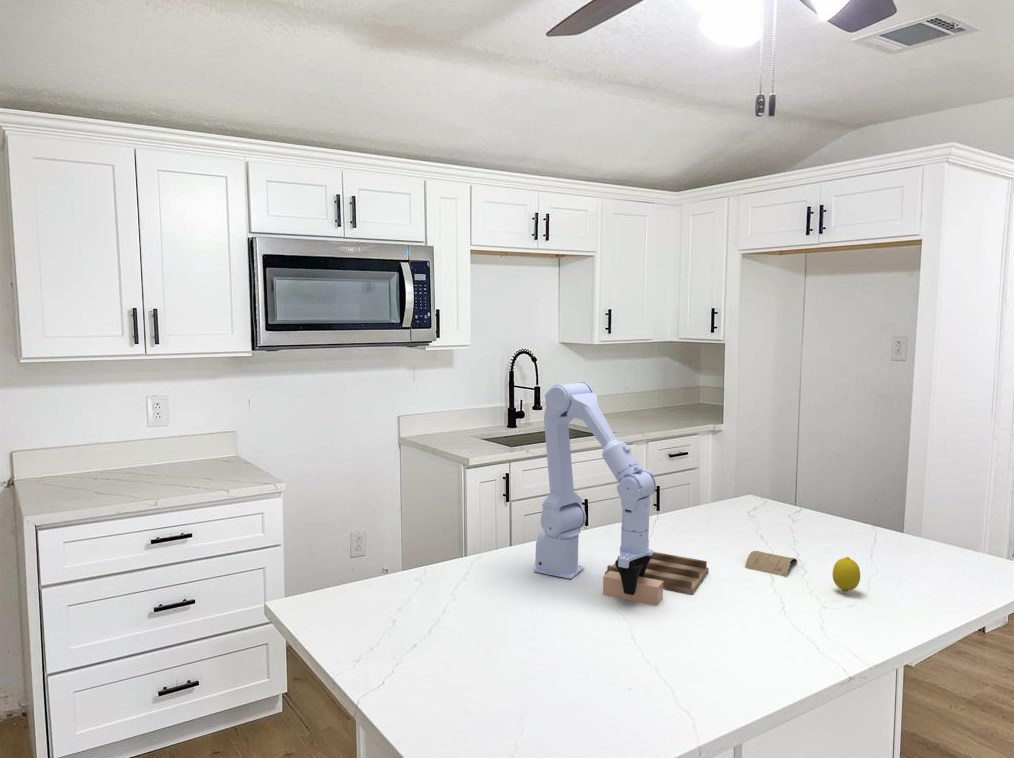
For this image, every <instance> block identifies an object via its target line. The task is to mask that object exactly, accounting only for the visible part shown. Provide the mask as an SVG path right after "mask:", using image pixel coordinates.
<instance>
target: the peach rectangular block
mask: <svg viewBox="0 0 1014 758" xmlns="http://www.w3.org/2000/svg"><path fill="white" fill-rule="evenodd" d="M602 578H603V579H602V595H605V596H609V597H613V598H619V599H623V600H626V601H627V600H629V601H633V602H638V603H643V604H646V605H652V606H657V607H658V605H660V604H661V602H662V601H663V600H664V589H663V582H664V581H660V580H655V579H650V578H645V577H640V576H638V580H637V586H636V591H635V594H634V595H629V594H625V593H624V590H623V585H622V580H621V576H620V574H619V572H614V571H609V572H608V573H607V574H606V575H605V574H604V575H603V577H602Z"/></svg>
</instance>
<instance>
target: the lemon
mask: <svg viewBox="0 0 1014 758" xmlns="http://www.w3.org/2000/svg"><path fill="white" fill-rule="evenodd" d="M832 579H833V582H834V584H835V586H836V587H838V589H840V590H842V592H843V593H848V592H849V591H853V590H854V589H856V588H858V586H859V584H860V582H861V571H860V567H859V564H858V563H857V562H856V561H855V560H854V559H852V558H850V556H845V557H843V558H840V559H838V560H837V561H836V562H835V564H834V565H833V568H832Z"/></svg>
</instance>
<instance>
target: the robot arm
mask: <svg viewBox="0 0 1014 758" xmlns="http://www.w3.org/2000/svg"><path fill="white" fill-rule="evenodd" d="M544 399H545V411H544V415H543V424H544V435H545V436H544V437H545V448H546V460H547V470H548V472H547V473H548V484H549V494H547V497H546V498H545V499H544V501H543V502H542V513H541V515H540V525H541V528H542V529H543V530H541V531H540V532H539V533H538V535H537V538H536V540H535V541H536V542H535V565H534V566H535V568H534V569H533V572H535V573H538V574H544V575H549V576H554V577H559V578H564V579H569V580H572V579H573V578H574V577H576V576H577V575H578V574H579V573H580V572H582V571H583V570H585V567H584V566H583V565H579V536H580V535H579V534H581V529H582V528H583V527H584V526H585V524H586V522H587V521H586V520H587V515H586V511H585V508H584V507H583V504H582V497H581V496H580V495H578V494H577V492H575V490H574V478H573V468H572V466H573V464H572V453H571V443H570V429H569V424H570V423H571V421H572V420H574V418H575V419H577V420H582V421H583V422H584V423H585V425H586V426H587V427H588V429H589V430H590V432H591V433H592V435H593V436H594V437H595V439H596V440H597V441H598V443H599V445H601V447H602V452H601V453H602V454H601V457H602V458H603V460H604V461H605V463H606V465H607V467H608V469H609V470H610V471H611V473H612V474H613V476H614V477H615V479H616V481H617V482H618V484H617V485H616V489H617V490H616V491H617V494H618V496H619V497H620V506H621V509H622V510H621V528H620V529H621V535H620V547H619V556H620V557H619V559H618V558H617V559H616V560H615V562H614V564H615V565H616V567H617V569H618V571H619V574H620V576H621V580H622V585H623V590H624V593H625V594H629V595H634V594H635V591H636V586H637V580H638V576H640V577H644V575H645V571H646V568H647V565H648V563H649V561H650V560H651V558H652V555H653V552H654V550H653V549H651V548H650V547H649V546H650V544H649V543H650V540H649V535H650V533H649V532H650V509H651V496H652V495H654V494H655V492H656V489H657V482H656V479H655V476H654V474H653V473H652V472H651V471H649V470H647V469H645V468H644V467H643V466H642V465H640V464H639V462H638V461H637V459H636V457H635V456H634V455H633V453H632V451H631V450H632V448H631V447H630V445H629V444H627V443H625V442H624V441H621V440H618V439H617V437H616V436H615V434H614V432H613V430H612V428H611V427H610V424H609V423H608V420H607V419H606V417H605V415H604V414H603V412H602V410H601V408H600V406H599V403H598V401H599V400H598V395H597V394H596V393H595V392H594V390H593V387H592V386H591V385H590V384H589V383H587V382H585V381H579V382H576V383H575V382H574V383H573V382H572V383H564V384H559V383H558V384H557V383H556V384H553V385H552V386H551V387H550V389H548V391H546V393H545V394H544Z"/></svg>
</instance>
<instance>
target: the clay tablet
mask: <svg viewBox="0 0 1014 758" xmlns="http://www.w3.org/2000/svg"><path fill="white" fill-rule="evenodd" d="M792 561H793V562H794V561H795V562H797V561H798V559H797V558H794V557H789V556H785V555H784V556H783V555H780V554H779V555H777V554H774V553H773V554H772V553H769V552H764V551H759V550H753V551H751V552H750V553H749V555H747V558H746V563H745V565H744V568H745V569H748V570H753V571H757V572H762V573H767V574H771V575H776V576H781V577H784V578H786V577H787V576H788V574H789V573H788V572H789V570H790V566H791V562H792Z"/></svg>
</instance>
